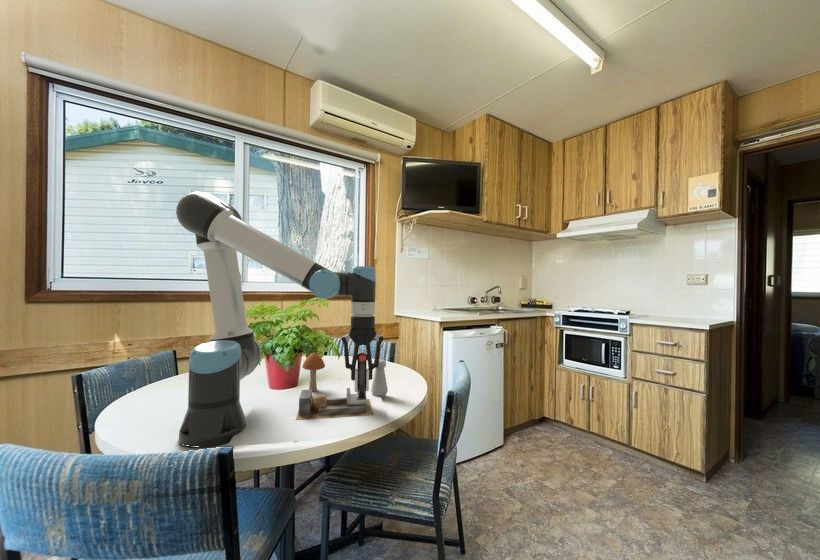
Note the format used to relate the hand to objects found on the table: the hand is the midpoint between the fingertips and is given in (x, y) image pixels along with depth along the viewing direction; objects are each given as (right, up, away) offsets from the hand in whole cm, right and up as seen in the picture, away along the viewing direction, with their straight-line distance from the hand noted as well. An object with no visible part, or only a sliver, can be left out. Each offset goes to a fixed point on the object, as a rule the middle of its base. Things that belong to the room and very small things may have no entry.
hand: (361, 390), depth 106 cm
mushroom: (-19, -7, +15) cm, 26 cm away
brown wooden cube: (-13, -5, -3) cm, 14 cm away
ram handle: (-1, -5, 0) cm, 5 cm away
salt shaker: (+4, -7, +13) cm, 16 cm away
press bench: (-8, -6, -2) cm, 10 cm away
